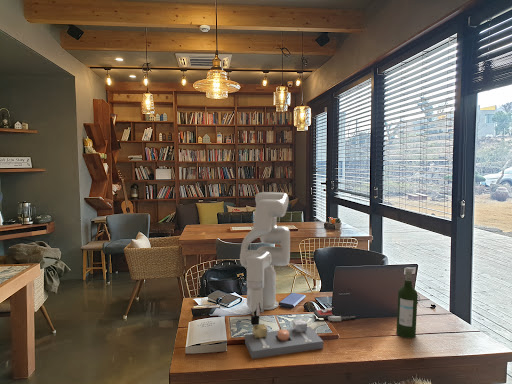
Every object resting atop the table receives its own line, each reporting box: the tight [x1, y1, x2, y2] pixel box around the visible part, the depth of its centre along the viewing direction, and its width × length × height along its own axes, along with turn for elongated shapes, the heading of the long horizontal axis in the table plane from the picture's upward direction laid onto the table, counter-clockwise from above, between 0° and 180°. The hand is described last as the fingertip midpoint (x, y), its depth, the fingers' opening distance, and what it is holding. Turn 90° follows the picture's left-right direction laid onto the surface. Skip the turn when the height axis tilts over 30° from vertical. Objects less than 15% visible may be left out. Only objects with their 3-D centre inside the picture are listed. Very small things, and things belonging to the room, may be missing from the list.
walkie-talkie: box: [313, 307, 357, 322], centre depth 169 cm, size 9×4×20 cm
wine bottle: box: [396, 266, 419, 339], centre depth 152 cm, size 8×8×30 cm
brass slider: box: [252, 323, 268, 338], centre depth 144 cm, size 4×5×4 cm
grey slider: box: [292, 318, 308, 333], centre depth 149 cm, size 4×5×4 cm
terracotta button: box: [277, 328, 289, 342], centre depth 143 cm, size 5×5×3 cm
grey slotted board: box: [243, 326, 324, 360], centre depth 143 cm, size 13×30×3 cm, turn 105°
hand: (255, 324), depth 151 cm, fingers closed
